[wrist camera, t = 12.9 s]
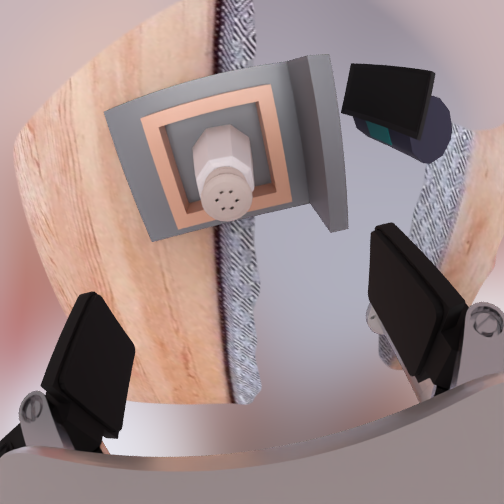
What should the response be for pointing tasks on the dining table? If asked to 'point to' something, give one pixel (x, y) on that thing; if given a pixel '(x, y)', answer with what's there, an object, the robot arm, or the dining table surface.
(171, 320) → the dining table surface
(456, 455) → the robot arm
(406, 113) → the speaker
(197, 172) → the salt shaker
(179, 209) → the gray walled base stand
